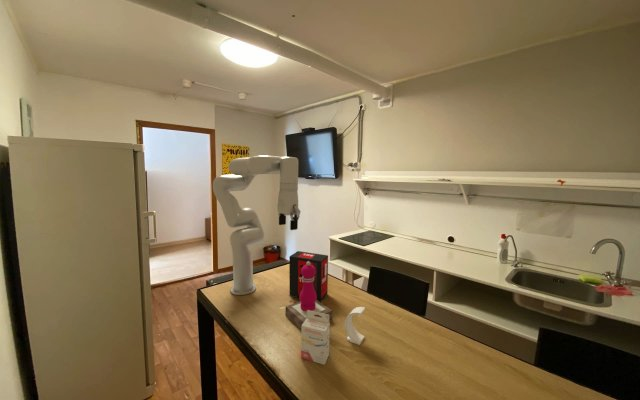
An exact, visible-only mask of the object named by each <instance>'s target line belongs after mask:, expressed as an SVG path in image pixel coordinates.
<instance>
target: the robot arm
mask: <svg viewBox="0 0 640 400" xmlns="http://www.w3.org/2000/svg"><path fill="white" fill-rule="evenodd" d="M227 166H228V171H229V172H230V173H231V174H222V175H218V176H216V177H215V178H214V179H213V181H212V182H213V183H212V192H213V194H214V196H215V198H216V199H217V201H218V203H219V204H220V208H221V210H222V213H223V215H224V218H225V222H226V224H227V226H229V228H231V229H236V230H234V231H232V232H231V234H230V236H229V242H230V246H231V247H230V248H231V252H232V253H231V254H232V271H233V273H232V275H233V280H232V281H233V285H232V286H231V287H230V293H231V295H232V294H233V295H234V296H245V295H249V294H252V293H253V292H255V291H256V290H257V285H256V284H255V283H254V274H253V273H254V271H253V268H254V267H253V266H254V264H253V262H254V261H253V253H252V252H251V250H250V249H249V247H252V246H254V245H258V244H260V243H261V244H262V242H263V241H264V239H265V233H264V230H263V227H262V224H261V221H260V220H259V217H258V213H257V212H256V210H254V209H253V208H251V207H241V206H240V205H239V201H238V199H237V198H236V197H235V196H234V195H233V194H232V193H231V192H236V191H237V192H239V191H240V192H241V191H244V190H246V189H247V188H248V187H249V186H250V185H251V183H252V182H253V180H254V179H255V177H256V176H257V175H279V191H278V196H277V197H278V198H277V212H278V225H279V226H282V225H283V226H284V225H286V224H287V221H286V220H287V216H289V217H290V220H289V221H290V223H289V224H290V225H289V228H290V230H291V231H296V230H298V228H299V227H298V224H299V218H300V215H301V210H300V208H299V193H298V191H299V158H298V157H293V156H278V155H276V156H275V155H255V156H254V155H253V156H250V157H237V158H234V159H231V161H230V162H229V164H228V165H227ZM242 227H243V228H242ZM237 228H240V229H237Z"/></svg>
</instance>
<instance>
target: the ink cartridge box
mask: <svg viewBox="0 0 640 400" xmlns="http://www.w3.org/2000/svg"><path fill="white" fill-rule="evenodd" d="M314 315H319V316H322V318H320V317H316V316H314ZM330 328H331V323H330V321H329V315H328V314H324V313H319V312H315V311H310V310H307V318H306V320H305V321H304V323H303V324H302V328H301V329H300V331H301V333H300V335H301V337H300V340H301V341H300V343H301V344H300V358H301V359H303V360H307V361H310V362H314V363H317V364H320V365H324V366H325V365H326V363H327V360H328V358H329V355H330V333H331V330H330Z"/></svg>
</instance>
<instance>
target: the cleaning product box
mask: <svg viewBox="0 0 640 400" xmlns="http://www.w3.org/2000/svg"><path fill="white" fill-rule="evenodd" d="M288 257H289V260H288V261H289V266H288V267H289V270H288V271H289V279H288V280H289V296H290V297H293V298H298V299H299V298H300V293H301V291H302V289H303V280H302V276H303V275H302V274H301V269H302V267H303V266H304V265H306V263H307V262H308V261H309V262H310V263H311V264H310V265H313V266H314V267H315V270H316V273H315V275H314V281H313V287H314V290H315V292H316V295H317V300H318V301H319V302H321V303H323V301H324V299H325V298H326V297H327V295H328V283H329V281H328V280H329V277H328V276H329V255H328V254H327V255H326V254H321V253H320V254H319V253H312V252H307V251H299V250H298V251H296V252H294V253H292V254H291V255H289V256H288Z"/></svg>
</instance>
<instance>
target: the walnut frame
mask: <svg viewBox="0 0 640 400" xmlns="http://www.w3.org/2000/svg"><path fill="white" fill-rule="evenodd" d="M315 303H316V308H315V309H314V310H313V311H315V312H319V313H324V314H328V315H329V322H331V321H332V320H333V310H332V309H330V308H329V307H328V306H327V305H325V304H323V302H319V301H318V300H316V302H315ZM285 316H286V317H287V318H288V320H290V321H291V322H292V323H293V324H294V325H295V326H296V327H297V328H298V329H300V330H301V328H302V324H303V323H304V321H305V320H306V318H307V311H303V310H302V309H301V301H300V300H299V301H297V302H295V303H292V304H289V305H286V306H285ZM314 316H316V317H320V318H322V316H319V315H314Z"/></svg>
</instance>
